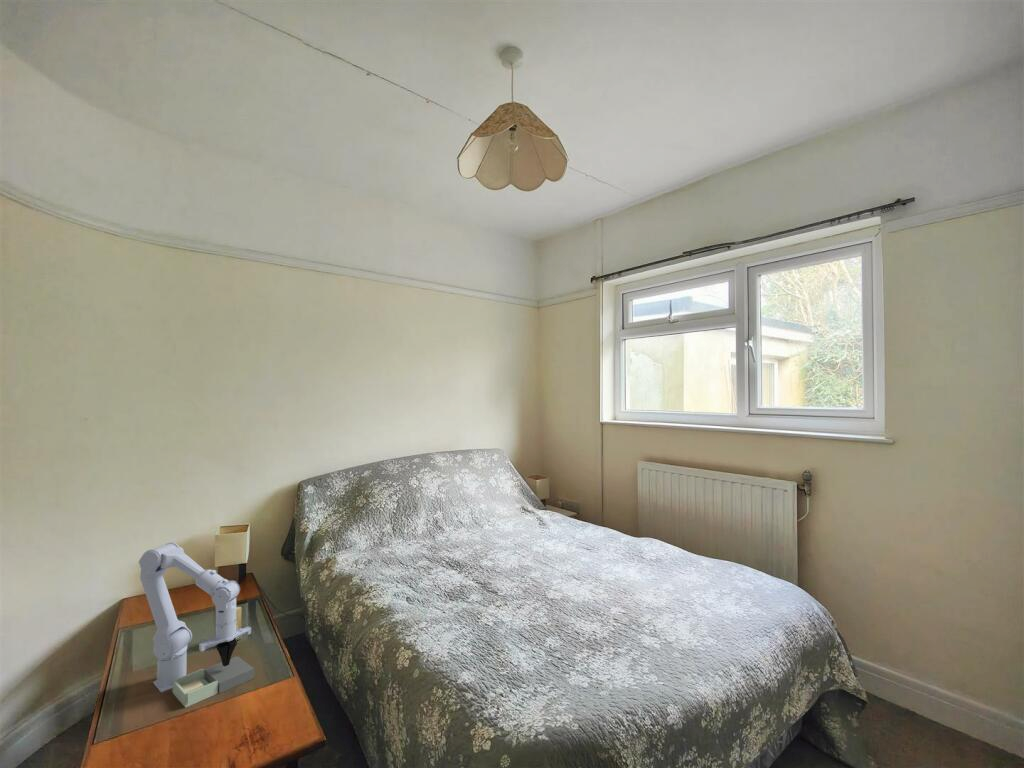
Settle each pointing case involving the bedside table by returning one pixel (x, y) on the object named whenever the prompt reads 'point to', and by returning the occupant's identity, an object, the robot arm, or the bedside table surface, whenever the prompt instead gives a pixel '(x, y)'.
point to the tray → (194, 695)
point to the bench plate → (229, 674)
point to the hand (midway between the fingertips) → (225, 664)
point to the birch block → (192, 686)
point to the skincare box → (238, 618)
